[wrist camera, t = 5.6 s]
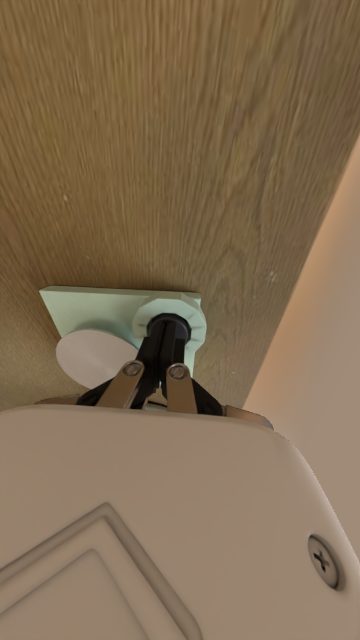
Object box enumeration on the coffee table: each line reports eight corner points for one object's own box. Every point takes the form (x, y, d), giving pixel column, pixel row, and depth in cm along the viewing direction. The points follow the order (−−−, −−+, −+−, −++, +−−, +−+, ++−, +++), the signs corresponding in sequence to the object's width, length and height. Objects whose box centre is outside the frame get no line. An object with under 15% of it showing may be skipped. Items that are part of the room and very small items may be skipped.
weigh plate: (145, 331, 13) (144, 333, 12) (152, 394, 17) (151, 397, 17) (41, 325, 13) (38, 327, 13) (76, 389, 18) (74, 391, 17)
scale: (206, 287, 13) (210, 301, 11) (195, 378, 20) (195, 400, 18) (48, 279, 14) (16, 291, 11) (87, 370, 21) (73, 391, 18)
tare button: (189, 310, 13) (189, 319, 11) (187, 339, 14) (186, 350, 13) (151, 307, 13) (147, 317, 12) (153, 337, 15) (150, 348, 13)
